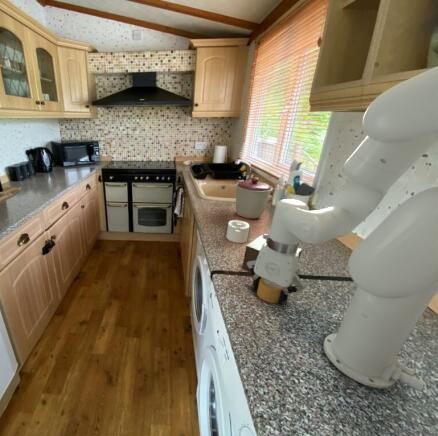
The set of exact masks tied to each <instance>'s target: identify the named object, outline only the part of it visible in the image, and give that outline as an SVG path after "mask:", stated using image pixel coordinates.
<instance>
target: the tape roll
mask: <svg viewBox="0 0 438 436" xmlns="http://www.w3.org/2000/svg"><path fill="white" fill-rule="evenodd" d="M282 292H283V287H282V286H280V285H277V284H275V283H273V282H271V281H269V280H267V279H265V278H262V277H261V278H260V281H259V286H258V289H257V290H256V294H257V296H258V297H259V299H261V300H263V301H264V302H266V303H270V304H277V303H279V299H280V296H281V293H282Z"/></svg>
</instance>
